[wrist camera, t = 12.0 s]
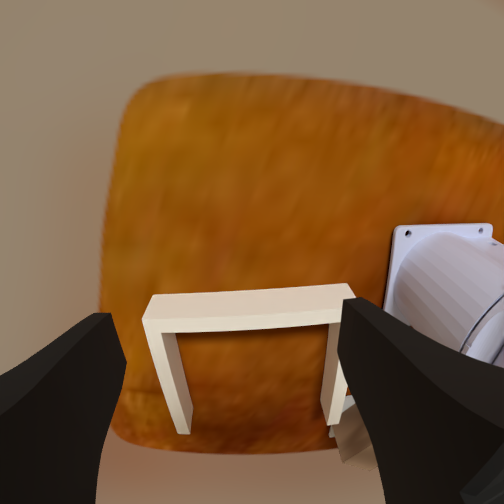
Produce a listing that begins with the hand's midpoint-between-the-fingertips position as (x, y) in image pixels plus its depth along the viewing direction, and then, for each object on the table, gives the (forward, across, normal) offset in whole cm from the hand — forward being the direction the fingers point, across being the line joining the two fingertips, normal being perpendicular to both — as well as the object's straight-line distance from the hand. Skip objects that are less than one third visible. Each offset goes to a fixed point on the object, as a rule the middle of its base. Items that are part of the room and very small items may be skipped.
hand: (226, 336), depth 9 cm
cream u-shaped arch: (+10, -1, +10) cm, 14 cm away
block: (+10, -11, +18) cm, 24 cm away
